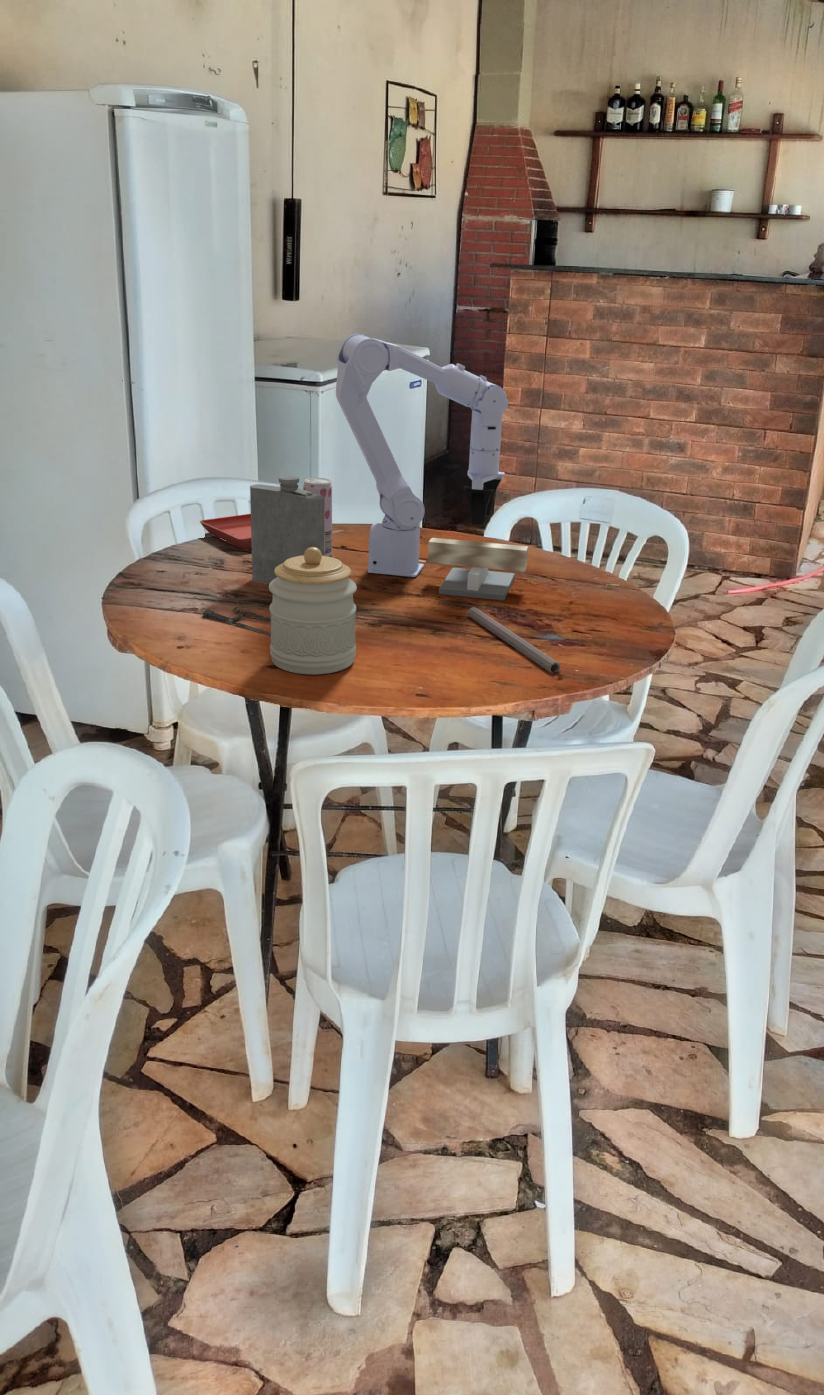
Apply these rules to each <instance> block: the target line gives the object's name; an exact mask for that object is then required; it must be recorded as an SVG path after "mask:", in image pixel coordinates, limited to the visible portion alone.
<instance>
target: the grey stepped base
mask: <svg viewBox="0 0 824 1395" xmlns="http://www.w3.org/2000/svg"><path fill="white" fill-rule="evenodd" d="M515 575H516V574H515V573H513V572H504V571H491V570H489V569H488V568H478V567H470V568H461V567H452V568H451V569H450V571H449V573H447V575H446V577H445V578H444V580H443V582H442V584H441V585H440V586H439V588H438V595H444V596H445V595H446V596H456V597H464V598H465V597H466V598H473V599H474V598H475V599H483V600H484V599H485V600H497V601H505V599H506V598H507V596H508V593H509V591H510V589H511V587H512V584H513V582H514V580H515V577H516V576H515Z"/></svg>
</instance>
